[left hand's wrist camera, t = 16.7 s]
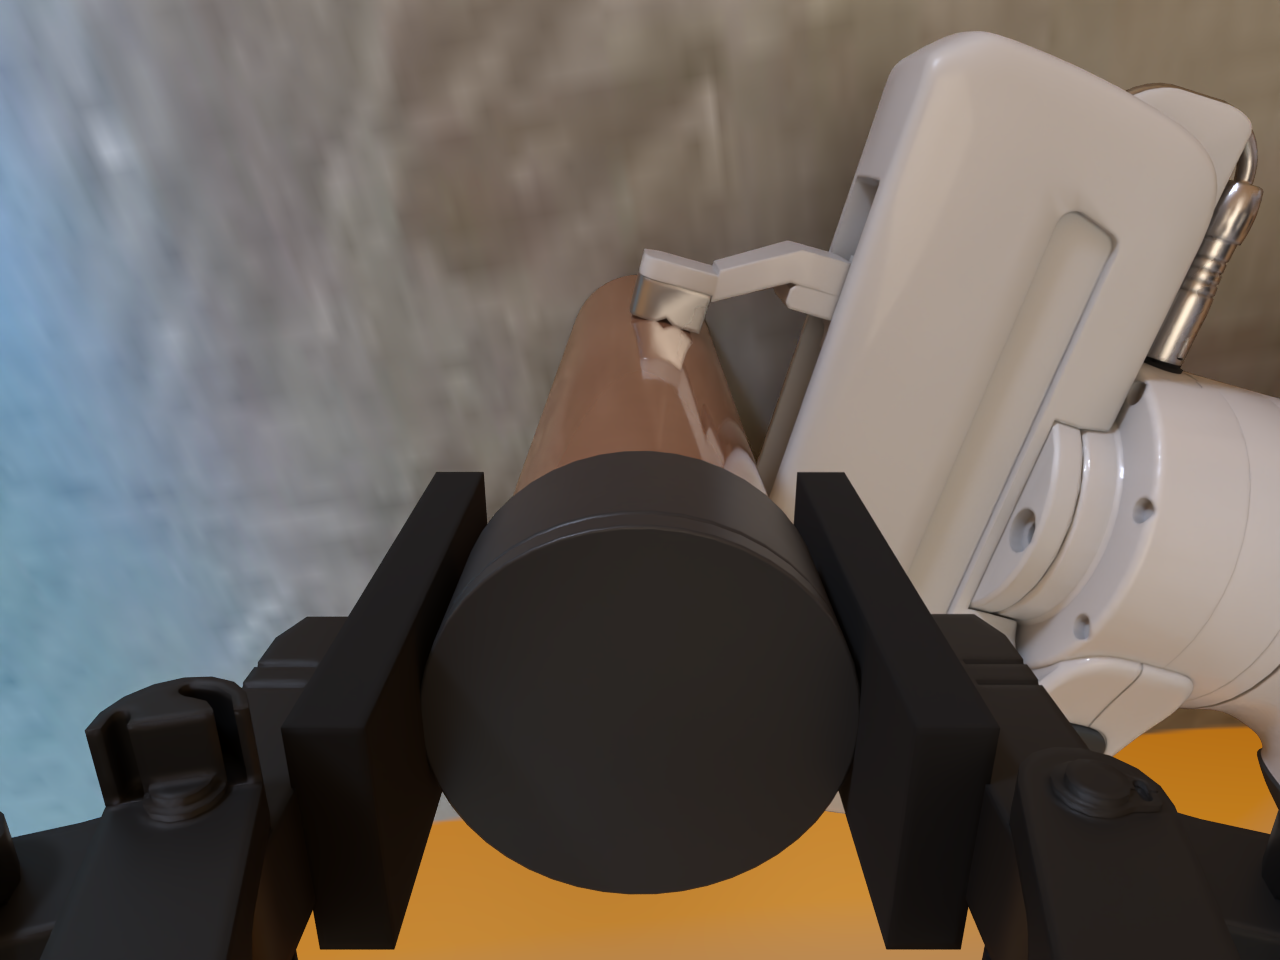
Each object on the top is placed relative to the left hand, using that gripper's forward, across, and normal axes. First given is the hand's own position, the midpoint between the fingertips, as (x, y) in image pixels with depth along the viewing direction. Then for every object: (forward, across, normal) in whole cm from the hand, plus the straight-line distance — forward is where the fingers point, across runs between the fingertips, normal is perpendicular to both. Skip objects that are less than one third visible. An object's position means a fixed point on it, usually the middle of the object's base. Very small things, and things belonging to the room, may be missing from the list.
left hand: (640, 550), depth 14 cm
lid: (-4, 0, 0) cm, 4 cm away
